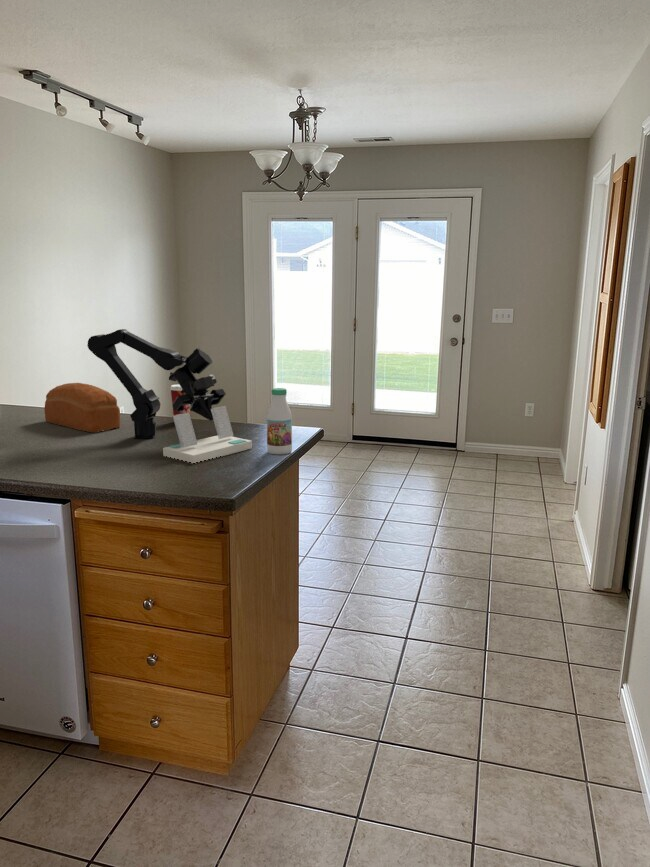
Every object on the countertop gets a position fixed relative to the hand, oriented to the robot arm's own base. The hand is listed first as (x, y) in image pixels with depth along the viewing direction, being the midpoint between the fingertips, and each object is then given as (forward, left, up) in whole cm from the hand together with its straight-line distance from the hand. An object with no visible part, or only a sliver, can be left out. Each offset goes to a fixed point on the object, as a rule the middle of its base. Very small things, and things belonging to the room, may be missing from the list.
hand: (212, 419), depth 212 cm
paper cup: (-14, +37, -8) cm, 41 cm away
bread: (-50, +36, -9) cm, 62 cm away
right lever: (+4, -5, -5) cm, 8 cm away
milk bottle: (+21, -12, -8) cm, 26 cm away
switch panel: (-1, -10, -8) cm, 13 cm away
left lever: (-6, -15, -5) cm, 17 cm away
